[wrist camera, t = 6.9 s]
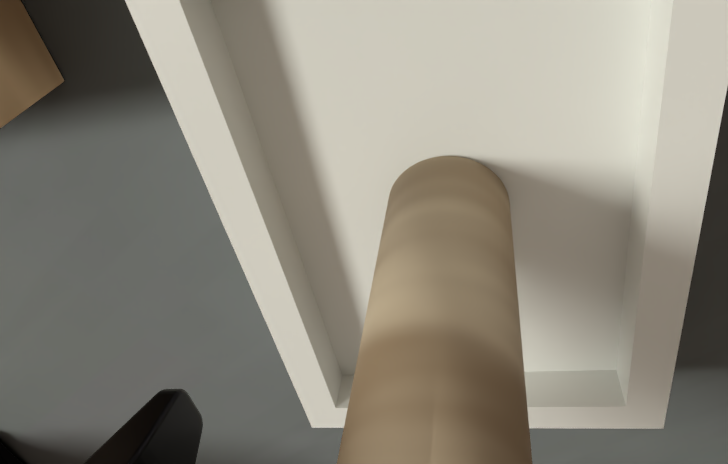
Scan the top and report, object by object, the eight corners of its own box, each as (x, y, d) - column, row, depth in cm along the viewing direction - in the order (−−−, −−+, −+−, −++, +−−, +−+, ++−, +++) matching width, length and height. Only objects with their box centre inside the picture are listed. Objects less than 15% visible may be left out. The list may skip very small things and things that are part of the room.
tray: (641, 358, 17) (663, 428, 15) (326, 366, 19) (312, 427, 18) (717, -222, 9) (785, -225, 7) (157, -89, 11) (96, -65, 9)
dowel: (512, 249, 14) (563, 860, 6) (398, 255, 14) (314, 812, 7) (506, 149, 12) (567, 821, 4) (378, 162, 13) (234, 762, 5)
